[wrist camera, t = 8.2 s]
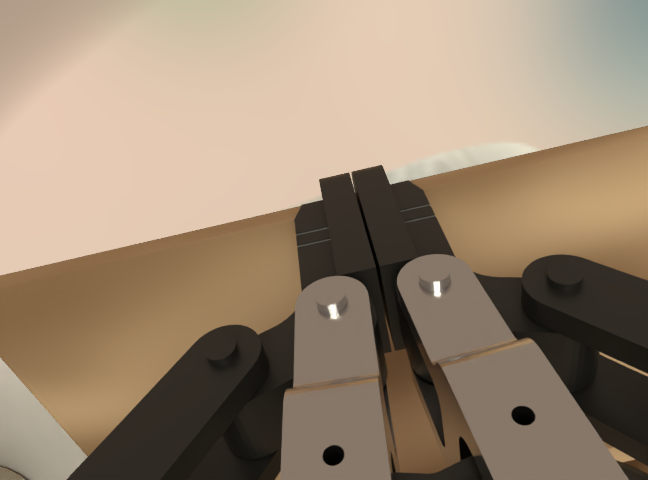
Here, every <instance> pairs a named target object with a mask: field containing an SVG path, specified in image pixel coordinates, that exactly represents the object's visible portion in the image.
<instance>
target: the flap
mask: <svg viewBox="0 0 648 480" xmlns="http://www.w3.org/2000/svg"><path fill="white" fill-rule="evenodd" d="M410 182H412V183H413V184H415V185H416V186H418V187H419V188H421V189H422V190H423V191H424V193H425V195H426V197H427V199H428V201H429V203H430V206H431V207H432V209H433V211H434V214H435V217H436V218H437V220H438V222H439V224H440V226H441V228H442V230H443V232H444V234H445V236H446V238H447V240H448V243H449V245H450V247H451V249H452V251H453V253H454V255H455V257H456V258H459V259H461V260H462V261H464V262H465V263H466V264H467V265H468V266H469V267H470V268H471V270H472V271H473V272H475V273H478V274H481V275H485V276H491V277H522V274H523V272H524V270H525V268H526V267H527V266H528V265H529V264H530V263H531V262H533V261H535V260H536V259H539V258H541V257H545V256H549V255H559V254H564V255H573V256H578V257H582V258H585V259H588V260H591V261H593V262H596V263H599V264H602V265H605V266H608V267H610V268H613V269H616V270H619V271H622V272H625V273H628V274H630V275H633V276H636V277H639V278H642V279H645V280H648V126H645V127H641V128H637V129H632V130H628V131H624V132H619V133H615V134H610V135H606V136H602V137H597V138H593V139H589V140H584V141H580V142H576V143H572V144H567V145H563V146H559V147H554V148H550V149H546V150H541V151H537V152H533V153H528V154H524V155H520V156H515V157H511V158H507V159H502V160H498V161H494V162H489V163H485V164H481V165H476V166H472V167H468V168H463V169H459V170H455V171H451V172H446V173H442V174H438V175H433V176H429V177H425V178H420V179H416V180H412V181H410ZM355 195H356V194H355ZM300 207H301V206H299V207H295V208H291V209H286V210H282V211H278V212H273V213H269V214H265V215H261V216H256V217H252V218H247V219H243V220H239V221H234V222H230V223H226V224H222V225H217V226H213V227H209V228H204V229H200V230H196V231H192V232H188V233H183V234H179V235H174V236H170V237H166V238H161V239H157V240H152V241H148V242H144V243H139V244H135V245H131V246H127V247H123V248H118V249H113V250H110V251H105V252H101V253H96V254H92V255H88V256H83V257H79V258H75V259H70V260H66V261H62V262H58V263H53V264H49V265H44V266H40V267H36V268H31V269H27V270H23V271H19V272H14V273H10V274H6V275H1V276H0V357H1V359H2V360H3V361H4V362H5V363H6V364H7V365H8V366H9V368H10V369H11V370H12V371H13V372H14V373H15V374H16V376H17V377H18V378H19V379H20V380H21V381H22V382H23V384H24V385H25V386H26V387H27V388H28V389H29V390H30V391H31V393H32V394H33V395H34V396H35V397H36V398H37V399H38V401H39V402H40V403H41V404H42V405H43V406H44V407H45V409H46V410H47V411H48V412H49V413H50V414H51V415H52V416H53V418H54V419H55V420H56V421H57V422H58V423H59V424H60V426H61V427H62V428H63V429H64V430H65V431H66V432H67V434H68V435H69V436H70V437H71V438H72V439H73V440H74V441H75V443H76V444H77V445H78V446H79V447H80V448H81V449H82V451H83V452H84V453H85V454H86V455H87V456H89V455H90V454H91V453H92V452H93V451H94V450H95V449H96V448H97V447H98V446H99V445H100V443H101V442H102V441H103V440H104V439H105V438H106V437H107V436H108V435H109V434H110V433H111V432H112V431H113V430H114V429H115V427H116V426H117V425H118V424H119V423H120V422H121V421H122V420H123V419H124V418H125V417H126V416H127V415H128V414H129V413H130V411H131V410H132V409H133V408H134V407H135V406H136V405H137V404H138V403H139V402H140V401H141V400H142V399H143V398H144V396H145V395H146V394H147V393H148V392H149V391H150V390H151V389H152V388H153V387H154V386H155V385H156V384H157V383H158V382H159V380H160V379H161V378H162V377H163V376H164V375H165V374H166V373H167V372H168V371H169V370H170V369H171V368H172V367H173V366H174V364H175V363H176V362H177V361H178V360H179V359H180V358H181V357H182V356H183V355H184V354H185V353H186V352H187V351H188V349H189V348H190V347H191V346H192V345H193V344H194V343H195V342H196V341H197V340H198V339H199V338H200V337H202V336H203V335H204V334H206V333H208V332H209V331H211V330H213V329H216V328H218V327H222V326H226V325H243V326H247V327H249V328H251V329H253V330H254V331H255V332H256V333H257V334H260V333H262V332H264V331H267V330H269V329H271V328H273V327H275V326H276V325H278V324H280V323H282V322H283V321H284V320H286V319H287V318H288V317H289V316H290V315H291V314H292V313H293V312H294V311H295V304H296V301H297V298H298V296H299V295H300V293H301V292H302V290H301V280H300V270H299V260H298V251H297V241H296V231H295V222H294V219H295V217H296V215H297V213H298V211H299V209H300ZM385 318H386V316H385ZM386 323H387V320H386ZM387 329H388V334H389V339H390V344H391V350H392V352H389V353H384V355H385V360H386V365H387V371H388V377H387V381H386V382H387V387H388V393H389V399H390V406H391V413H392V420H393V426H394V433H395V440H396V447H397V453H398V460H399V467H400V472H401V473H424V474H430V473H436V472H439V471H441V470H443V469H445V468H446V465H445V462H444V459H443V456H442V454H441V451H440V449H439V446H438V444H437V441H436V438H435V436H434V433H433V431H432V428H431V426H430V423H429V421H428V418H427V416H426V413H425V410H424V408H423V405H422V403H421V400H420V398H419V395H418V393H417V390H416V388H415V385H414V382H413V379H412V373H411V367H410V361H409V358H408V355H407V351H406V349H402V350H397V351H395V349H394V345H393V342H392V338H391V335H390V331H389V327H388V324H387ZM599 354H600V355H602V356H604V357H606V358H608V359H611V360H613V361H615V362H617V363H619V364H621V365H624V366H626V367H628V368H630V369H632V370H634V371H637V372H639V373H641V374H643V375H645V376H648V374H647V373H645V372H643V371H641V370H638V369H636V368H634V367H632V366H630V365H627V364H625V363H623V362H621V361H619V360H617V359H614V358H612V357H610V356H608V355H606V354H603V353H601V352H600V353H599ZM604 444H605V445H606V447H607V448H608V449H610V448H614V447H612V446H611V445H609V444H607V443H605V442H604ZM280 474H281V471H280V473H279V474H278V476H277V477H276V479H275V480H280Z"/></svg>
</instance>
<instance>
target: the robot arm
mask: <svg viewBox="0 0 648 480" xmlns="http://www.w3.org/2000/svg"><path fill="white" fill-rule="evenodd" d="M352 179H353V184H354V188H353V184H352V181H351V178H350V174H349V173H345V174H341V175H336V176H332V177H328V178H323V179H320V180H319V181H320V187H321V192H322V198H323V200H321V201H317V202H312V203H308V204H304V205H301V207H300V209H299V211H298V213H297V215H296V217H295V219H294V222H295V231H296V241H297V251H298V260H299V270H300V280H301V290H302V292H301V293H300V295H299V296H298V298H297V301H296V304H295V311H294V312H293V313H292V314H291V315H290V316H289V317H288V318H287V319H286V320H284V321H283V322H282V323H280V324H278V325H276V326H275V327H273V328H271V329H269V330H267V331H264V332H262V333H260V334H257V333H256V332H255V331H254V330H253V329H251V328H249V327H247V326H243V325H226V326H222V327H218V328H216V329H213V330H211V331H209V332H208V333H206V334H204V335H203V336H202V337H200V338H199V339H198V340H197V341H196V342H195V343H194V344H193V345H192V346H191V347H190V348H189V349H188V351H187V352H186V353H185V354H184V355H183V356H182V357H181V358H180V359H179V360H178V361H177V362H176V363H175V364H174V366H173V367H172V368H171V369H170V370H169V371H168V372H167V373H166V374H165V375H164V376H163V377H162V378H161V379H160V380H159V382H158V383H157V384H156V385H155V386H154V387H153V388H152V389H151V390H150V391H149V392H148V393H147V394H146V395H145V396H144V398H143V399H142V400H141V401H140V402H139V403H138V404H137V405H136V406H135V407H134V408H133V409H132V410H131V411H130V413H129V414H128V415H127V416H126V417H125V418H124V419H123V420H122V421H121V422H120V423H119V424H118V425H117V426H116V427H115V429H114V430H113V431H112V432H111V433H110V434H109V435H108V436H107V437H106V438H105V439H104V440H103V441H102V442H101V443H100V445H99V446H98V447H97V448H96V449H95V450H94V451H93V452H92V453H91V454H90V455H89V456H88V457H87V458H86V460H85V461H84V462H83V463H82V464H81V465H80V466H79V467H78V468H77V469H76V470H75V471H74V472H73V473H72V474H71V476H70V477H69V478H68V479H67V480H275V479H276V477H277V476H278V474H279V473H280V471H281V474H280V480H648V474H647V473H645V472H643V471H641V470H639V469H637V468H634V467H632V466H630V465H628V464H625V463H623V462H620V461H617V460H615V458H614V457H613V455H612V454H611V453H610V451H609V450H608V448H607V447H606V445H605V444H604V442H605V443H607V444H609V445H611V446H612V447H614V448H616V449H618V450H620V451H621V452H623V453H625V454H627V455H628V456H630V457H632V458H634V459H636V460H637V461H639V462H641V463H643V464H645V465H646V466H648V376H645V375H643V374H641V373H639V372H637V371H634V370H632V369H630V368H628V367H626V366H624V365H621V364H619V363H617V362H615V361H613V360H611V359H608V358H606V357H604V356H602V355H600V354H599V353H600V352H601V353H603V354H606V355H608V356H610V357H612V358H614V359H617V360H619V361H621V362H623V363H625V364H627V365H630V366H632V367H634V368H636V369H638V370H641V371H643V372H645V373H647V374H648V280H645V279H642V278H639V277H636V276H633V275H630V274H628V273H625V272H622V271H619V270H616V269H613V268H610V267H608V266H605V265H602V264H599V263H596V262H593V261H591V260H588V259H585V258H582V257H578V256H573V255H564V254H559V255H549V256H545V257H541V258H539V259H536V260H535V261H533V262H531V263H530V264H529V265H528V266H527V267H526V268H525V270H524V272H523V274H522V277H491V276H485V275H481V274H478V273H475V272H473V271H472V270H471V268H470V267H469V266H468V265H467V264H466V263H465V262H464V261H462V260H461V259H459V258H456V257H455V255H454V253H453V251H452V249H451V247H450V245H449V243H448V240H447V238H446V236H445V234H444V232H443V230H442V228H441V226H440V224H439V222H438V220H437V218H436V217H435V214H434V211H433V209H432V207H431V206H430V203H429V201H428V199H427V197H426V195H425V193H424V191H423V190H422V189H421V188H419V187H418V186H416V185H415V184H413V183H412V182H410V181H404V182H400V183H395V184H391V185H390V184H389V181H388V179H387V176H386V174H385V171H384V169H383V166H382V165H379V166H376V167H371V168H366V169H362V170H357V171H353V172H352ZM354 189H355V192H354ZM355 194H356V195H355ZM385 316H386V318H385ZM386 320H387V323H386ZM387 324H388V327H389V331H390V335H391V338H392V342H393V345H394V349H395V351H397V350H402V349H406V351H407V355H408V358H409V361H410V367H411V373H412V379H413V382H414V385H415V388H416V390H417V393H418V395H419V398H420V400H421V403H422V405H423V408H424V410H425V413H426V416H427V418H428V421H429V423H430V426H431V428H432V431H433V433H434V436H435V438H436V441H437V444H438V446H439V449H440V451H441V454H442V456H443V459H444V462H445V465H446V468H445V469H443V470H441V471H439V472H436V473H430V474H424V473H401V472H400V467H399V460H398V453H397V447H396V440H395V433H394V426H393V420H392V413H391V406H390V399H389V393H388V387H387V382H386V381H387V377H388V371H387V365H386V360H385V355H384V353H389V352H392V350H391V344H390V339H389V334H388V329H387ZM0 480H25V479H24V478H23V477H21V476H20V475H19V474H17V473H15V472H13V471H11V470H8V469H6V468H3V467H0Z"/></svg>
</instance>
